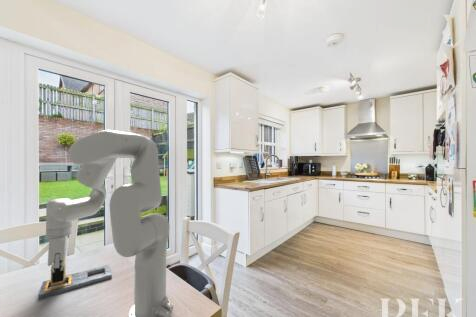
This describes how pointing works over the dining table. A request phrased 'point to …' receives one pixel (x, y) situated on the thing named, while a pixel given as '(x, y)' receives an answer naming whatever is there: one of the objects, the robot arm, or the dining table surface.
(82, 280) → the socket plate
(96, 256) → the dining table surface
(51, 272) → the brass plug
